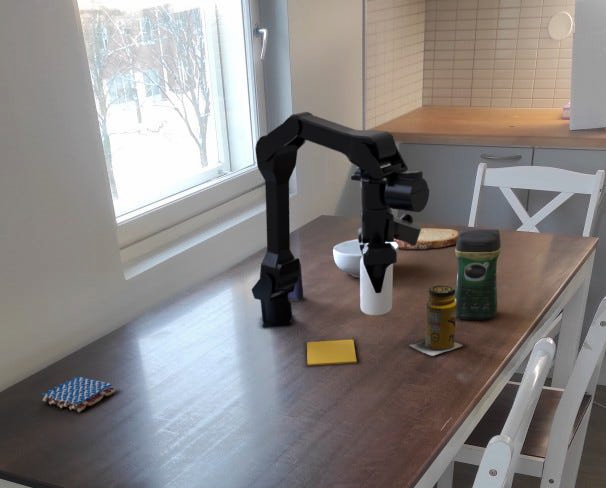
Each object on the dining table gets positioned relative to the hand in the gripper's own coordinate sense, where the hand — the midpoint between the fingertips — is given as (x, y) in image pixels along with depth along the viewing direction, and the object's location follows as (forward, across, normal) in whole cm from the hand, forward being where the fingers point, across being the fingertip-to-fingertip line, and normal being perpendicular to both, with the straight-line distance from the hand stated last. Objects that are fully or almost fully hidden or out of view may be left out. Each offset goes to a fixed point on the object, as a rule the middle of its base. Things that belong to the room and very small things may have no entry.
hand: (376, 287), depth 163 cm
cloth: (+13, -1, +10) cm, 16 cm away
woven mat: (+13, -16, +60) cm, 63 cm away
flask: (+13, +36, +20) cm, 43 cm away
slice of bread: (+13, +77, -19) cm, 80 cm away
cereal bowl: (+13, +52, -1) cm, 53 cm away
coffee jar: (+13, +16, -23) cm, 31 cm away
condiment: (+13, -1, -12) cm, 18 cm away
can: (+5, +1, 0) cm, 5 cm away
